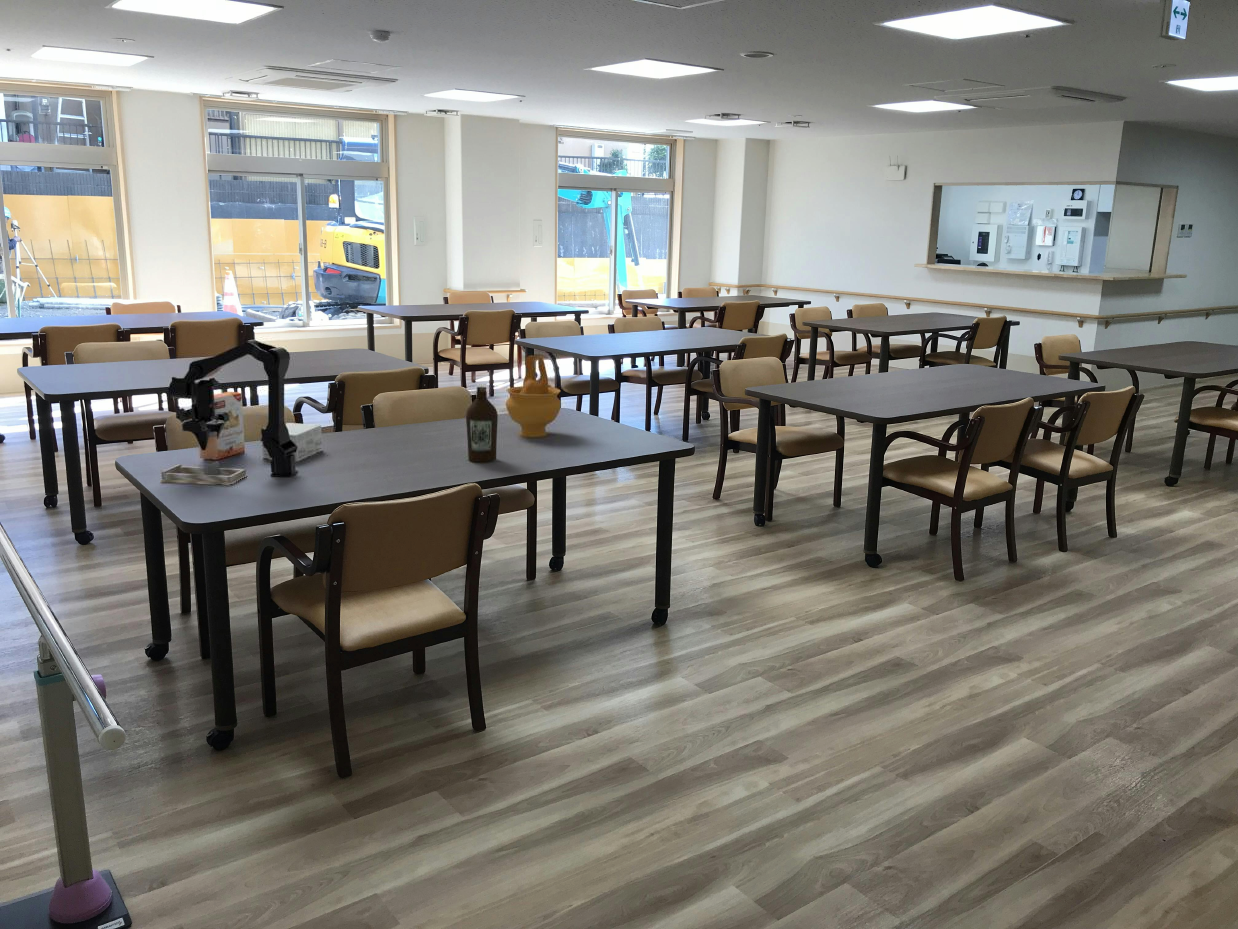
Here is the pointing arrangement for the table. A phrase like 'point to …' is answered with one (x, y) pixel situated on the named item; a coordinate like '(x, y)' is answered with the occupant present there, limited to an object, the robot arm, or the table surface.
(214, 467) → the pusher plate
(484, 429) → the olive oil
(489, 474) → the table surface
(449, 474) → the table surface
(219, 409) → the cracker box
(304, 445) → the supplement box
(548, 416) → the decorative bowl
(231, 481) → the shallow rectangular tray
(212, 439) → the jar
